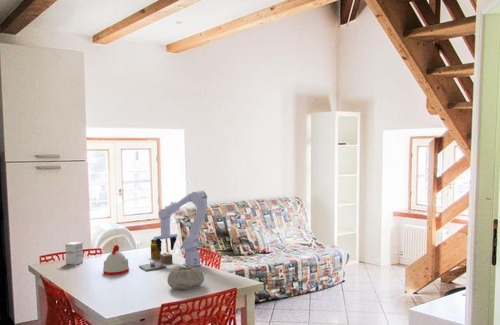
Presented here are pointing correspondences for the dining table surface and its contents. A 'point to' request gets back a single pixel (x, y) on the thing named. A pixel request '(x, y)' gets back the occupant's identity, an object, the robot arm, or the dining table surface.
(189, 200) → the robot arm
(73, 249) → the supplement box
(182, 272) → the grey stone
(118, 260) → the kitchen timer
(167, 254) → the taped cardboard box
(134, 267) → the dining table surface
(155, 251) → the condiment
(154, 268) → the hub plate
